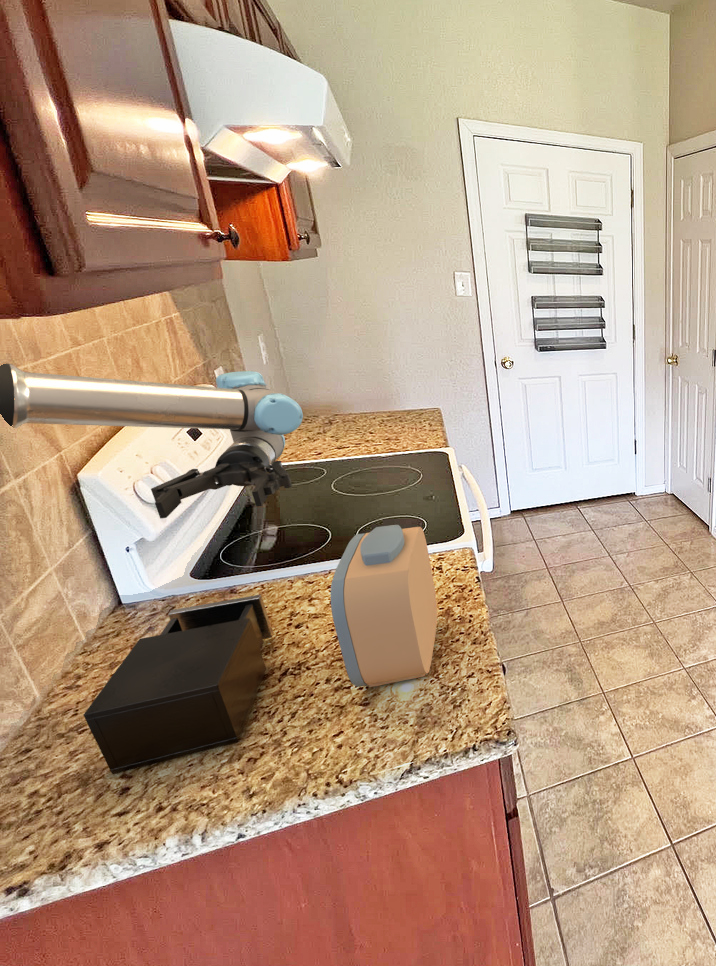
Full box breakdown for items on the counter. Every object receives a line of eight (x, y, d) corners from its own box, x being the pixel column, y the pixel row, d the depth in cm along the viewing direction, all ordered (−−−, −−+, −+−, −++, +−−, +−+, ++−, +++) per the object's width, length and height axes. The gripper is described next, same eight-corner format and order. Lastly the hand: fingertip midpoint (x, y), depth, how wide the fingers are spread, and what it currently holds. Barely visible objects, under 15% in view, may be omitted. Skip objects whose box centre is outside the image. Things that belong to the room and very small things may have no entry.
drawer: (195, 635, 95) (181, 595, 92) (279, 619, 99) (267, 581, 96) (148, 713, 79) (129, 668, 76) (250, 690, 83) (235, 646, 81)
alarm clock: (380, 626, 99) (354, 515, 92) (440, 616, 103) (420, 508, 95) (355, 710, 82) (320, 580, 74) (428, 694, 85) (402, 568, 77)
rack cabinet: (161, 692, 84) (139, 638, 80) (266, 669, 89) (250, 617, 85) (112, 775, 71) (82, 714, 67) (238, 742, 76) (217, 684, 72)
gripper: (323, 472, 117) (303, 513, 99) (173, 488, 108) (120, 537, 89) (315, 437, 115) (293, 473, 96) (159, 451, 105) (102, 494, 87)
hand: (209, 504), depth 93 cm, fingers open, 12 cm apart
